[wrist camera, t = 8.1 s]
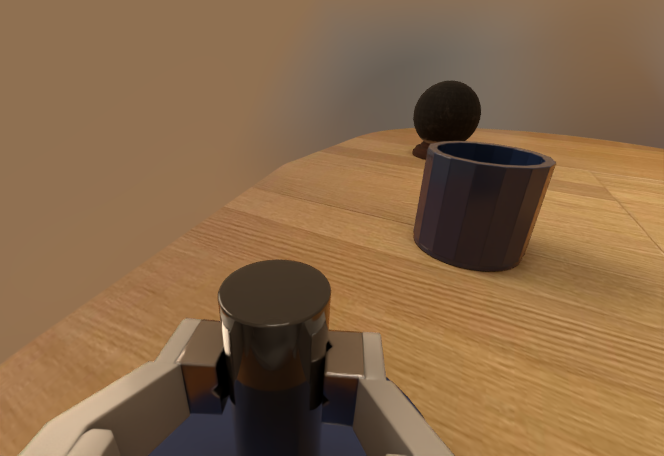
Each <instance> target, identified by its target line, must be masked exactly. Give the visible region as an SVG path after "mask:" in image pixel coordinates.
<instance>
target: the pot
mask: <svg viewBox="0 0 664 456" xmlns="http://www.w3.org/2000/svg"><path fill="white" fill-rule="evenodd" d="M555 165H556V162H555V161H554V160H553V159H552V158H551V157H548V156H545V155H543V154H540V153H537V152H534V151H529V150H525V149H521V148H517V147H511V146H505V145H499V144H491V143H481V142H468V141H445V142H437V143H433V144H430V146H429V147H428V150H427V156H426V162H425V168H424V174H423V179H422V185H421V191H420V197H419V203H418V209H417V214H416V220H415V226H414V240H415V243H416V244H417V245H418V246H419V248H420V249H422V250H423V251H424V252H425V253H427V254H428V255H430V256H432V257H434V258H436V259H438V260H440V261H442V262H445V263H448V264H450V265H454V266H457V267H461V268H465V269H470V270H477V271H503V270H508V269H511V268H514V267H516V266H517V265H518V264H519V263H520V262H521V261H522V258H523V256H524V255H525V252H526V249H527V246H528V244H529V241H530V238H531V235H532V232H533V229H534V226H535V223H536V220H537V217H538V215H539V212H540V209H541V206H542V203H543V200H544V197H545V194H546V191H547V188H548V186H549V183H550V180H551V177H552V174H553V171H554V168H555Z"/></svg>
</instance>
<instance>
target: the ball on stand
mask: <svg viewBox="0 0 664 456" xmlns="http://www.w3.org/2000/svg"><path fill="white" fill-rule="evenodd" d="M480 115H481V106H480V102H479V99H478V97H477V95H476V93H475V92H474V91H473V90H472V89H471V88H470V87H469V86H467V85H466V84H464V83H461V82H458V81H444V82H440V83H437V84H435V85H433V86H431V87H430V88H429V89H427V90H426V91H425V92H424V93H423V94H422V95H421V97H420V98H419V100H418V102H417V104H416V106H415V110H414V119H413V120H414V126H415V129H416V131H417V133H418V135H419V136H420V138H421V139H422V140H423V142H422V143H421V144H419V145H417V146H416V147H415V148H414V149H413V155H414V156H416V157H419V158H422V159H426V156H427V150H428V147H429V146H430V144H433V143H437V142H445V141H466V140H467V139H468V138H469V137H470V136H471V135H472V134H473V133H474V131H475V130H476V128H477V126H478V123H479V120H480Z"/></svg>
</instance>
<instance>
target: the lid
mask: <svg viewBox="0 0 664 456" xmlns="http://www.w3.org/2000/svg"><path fill="white" fill-rule="evenodd" d="M330 300H331V287H330V284H329V282H328V280H327V278H326V277H325V276H324V275H323V274H322V273H321V272H320V271H319V270H317V269H316V268H314V267H312V266H310V265H307V264H304V263H301V262H297V261H291V260H266V261H260V262H256V263H252V264H249V265H246V266H244V267H242V268H240V269H238V270H236V271H234V272H233V273H232V274H230V275H229V276H228V277H227V278H226V279H225V280H224V281H223V283H222V285H221V286H220V289H219V292H218V305H219V313H220V322H221V330H222V339H223V347H224V356H225V365H226V373H227V382H228V390H229V398H228V401H227V403H226V406H225V409H224V411H223V414H222V415H213V414H195V413H190V416H189V417H188V418H187V419H186V420H185V421H184V422H183V423H182V424H181V425H179V426H178V427H177V428H176V429H175V430H174V431H173V432H172V433H171V434H170V435H169V436H168V437H167V438H166V439H165V440H164V441H163V442H162V443H161V444H159V445H158V446H157V447H156V448H155V449H154V450H153V451H152V452H151V453H150V454H149V455H148V456H367V455H366V453H365V451H364V449H363V447H362V445H361V444H360V442H359V440H358V438H357V436H356V434H355V432H354V430H353V427H350V426H341V425H332V424H323V423H321V416H322V399H323V383H324V370H325V357H326V352H327V346H328V331H329V315H330ZM386 380H387V381H390V380H389V379H388V378H387V377H386ZM397 388H398V387H397ZM398 389H399V388H398ZM399 390H400V389H399ZM400 391H401V390H400ZM401 392H402V391H401ZM402 394H403V395H404V396H405V397H406V398H407V399H408V401H409V402H410V403H411V404H412V405H413V407H414V408H415V409H416V410H417V411H418V413H419V414H420V415H421V413H420V412H419V410H418V409H417V408H416V407H415V405H414V404H413V403H412V402H411V400H410V399H409V398H408V397H407V396H406V395H405V394H404V393H403V392H402ZM421 416H422V415H421ZM422 417H423V416H422ZM423 419H424V418H423ZM424 420H425V419H424Z"/></svg>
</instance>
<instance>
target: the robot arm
mask: <svg viewBox="0 0 664 456" xmlns="http://www.w3.org/2000/svg"><path fill="white" fill-rule="evenodd" d="M228 398H229V390H228V382H227V373H226V365H225V356H224V347H223V339H222V330H221V322H220V321H215V320H205V319H203V320H201V319H192V318H186V319H184V320H182V321H181V323H180V324H179V326H178V327H177V329H176V330H175V332H174V333H173V335H172V336H171V337H170V339H169V340H168V342H167V343H166V345H165V346H164V348H163V349H162V351H161V352H160V354H159V355H158V357H157V358H156V359H155V361H154V362H149V361H148V362H147V363H145V364H143V365H142V366H140V367H138V368H137V369H135V370H133V371H132V372H130V373H128V374H127V375H125V376H123V377H122V378H120V379H118V380H117V381H115V382H113V383H112V384H110V385H108V386H107V387H105V388H103V389H102V390H100V391H98V392H97V393H95V394H93V395H92V396H90V397H88V398H87V399H85V400H83V401H82V402H80V403H78V404H77V405H75V406H73V407H72V408H70V409H68V410H67V411H65V412H63V413H62V414H60V415H58V416H57V417H55V418H53V419H52V420H50V421H48V422H47V423H46V424H45V425H44V426H43V427H42V428H41V430H40V431H39V432H38V433H37V434H36V435H35V436H34V438H33V439H32V440H31V441H30V442H29V443H28V445H27V446H26V447H25V448H24V449H23V450H22V451H21V453H20V454H19V455H18V456H148V455H149V454H150V453H151V452H152V451H153V450H154V449H155V448H156V447H157V446H158V445H159V444H161V443H162V442H163V441H164V440H165V439H166V438H167V437H168V436H169V435H170V434H171V433H172V432H173V431H174V430H175V429H176V428H177V427H178V426H179V425H181V424H182V423H183V422H184V421H185V420H186V419H187V418H188V417H189V416H190V413H195V414H213V415H222V414H223V411H224V409H225V406H226V403H227V401H228ZM321 423H323V424H332V425H341V426H350V427H353V430H354V432H355V434H356V436H357V438H358V440H359V442H360V444H361V445H362V447H363V449H364V451H365V453H366V455H367V456H455V455H454V454H453V453H452V452H451V451H450V449H449V448H448V447H447V446H446V445H445V443H444V442H443V441H442V440H441V439H440V438H439V436H438V435H437V434H436V433H435V432H434V430H433V429H432V428H431V427H430V426H429V424H428V423H427V422H426V421H425V420H424V419H423V417H422V416H421V415H420V414H419V413H418V411H417V410H416V409H415V408H414V407H413V405H412V404H411V403H410V402H409V401H408V399H407V398H406V397H405V396H404V395H403V394H402V392H401V391H400V390H399V389H398V388H397V386H396V385H395V384H394V383H393V382H392V381H387V380H386V373H385V364H384V356H383V348H382V340H381V335H380V333H374V332H355V331H340V330H329V331H328V346H327V352H326V357H325V370H324V383H323V399H322V416H321Z"/></svg>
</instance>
